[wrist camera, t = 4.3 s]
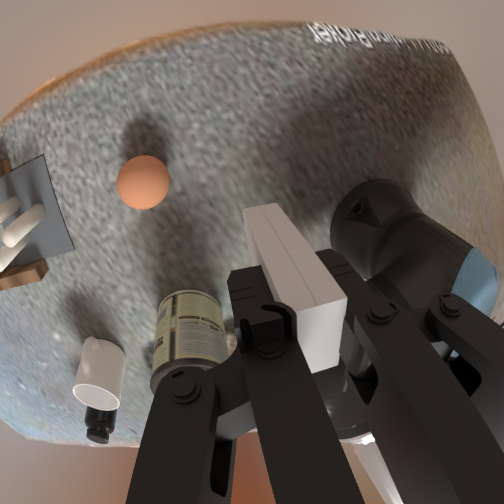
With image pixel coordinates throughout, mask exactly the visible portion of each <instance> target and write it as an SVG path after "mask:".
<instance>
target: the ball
mask: <svg viewBox="0 0 504 504" xmlns="http://www.w3.org/2000/svg"><path fill="white" fill-rule="evenodd" d="M169 185H170V177H169V173H168V170H167V168H166V166H165V165H164V164H163V163H162V162H161V161H160V160H159V159H157V158H155V157H153V156H149V155H140V156H137V157H134V158H132V159H130V160H129V161H127V162H126V163H125V164H124V165H123V167H122V168H121V170H120V172H119V174H118V177H117V189H118V193H119V195H120V197H121V199H122V200H123V201H124V202H125V203H126V204H127V205H129V206H130V207H132V208H135V209H149V208H152V207H154V206H156V205H157V204H159V203H160V202H161V201H162V200H163V199H164V197H165V196H166V194H167V192H168V189H169Z"/></svg>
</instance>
